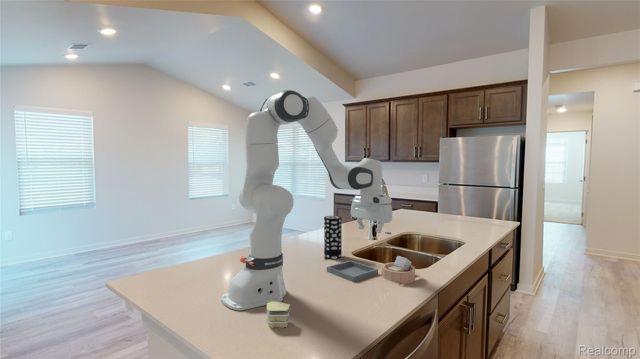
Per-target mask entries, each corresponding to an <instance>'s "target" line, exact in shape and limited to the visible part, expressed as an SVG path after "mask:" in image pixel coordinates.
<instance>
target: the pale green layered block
mask: <svg viewBox="0 0 640 359" xmlns="http://www.w3.org/2000/svg"><path fill="white" fill-rule="evenodd" d="M290 306H291V304H289V303H285V302H282V301H281V302H273V301H272V302H269V303H267V305H266V322H267V324H268V328H271V329H273V328H274V327H275V328H284V327H286V328H287V327H288V325H289V323H290V319H291V315H290V311H291V308H290Z"/></svg>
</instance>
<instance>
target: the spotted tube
mask: <svg viewBox="0 0 640 359" xmlns="http://www.w3.org/2000/svg"><path fill="white" fill-rule="evenodd" d="M342 218H343V217H342V216H339V215H326V216H324V217H323V226H324V227H323V239H324V241H323V243H324V244H323V252H324V253H323V256H324V257H323V258H324V259H323V260H325V261H329V260H339V259H342V254H343V252H342V250H343V249H342V243H343V240H342V239H343V238H342V236H343V235H342V234H343V233H342V232H343V231H342Z"/></svg>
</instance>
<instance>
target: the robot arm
mask: <svg viewBox="0 0 640 359" xmlns="http://www.w3.org/2000/svg"><path fill="white" fill-rule="evenodd" d="M294 122H296V123H298V124H299V125H300V126H301V127H302V129H303V130H304V132H305V133H306V134H307V136H308V138H309V139H310V141H311V143H312V144H313V147H314V149H315V151H316V154H317V156H318V157H319V158H320V160H321V163H322V164H323V166H324V167H325V169H326V171H327V174H328V178H329V181H330V184H331V185H332V187H334V188H335V189H337V190H349V191H351V190H352V191H358V190H360V191H359V195H355V196H354V197H353V198H352V203H351V208H350V216H351V217H352V218H356V221H357V224H358V229H360V230H364V229H365V224H363V220H366V221H372V222H377V227H375V233H377V234H382V228H383V227H384V225H385V224H389V223H391V222H392V220H393V207H392V205H391V204H392V201H393V200H392V198H391V197H389V196H388V195H386V194H384V193H383V192H382V191H383V189H382V182H383V167H382V162H381V161H380V160H379V159H376V158H372V157H364V158H363V159H362V160H361V161H359V162H358V163H356V164H353V165H345V164H343V163H341V162H340V160H339V158H338V156H337V154H336V152H335V151H334V149H333V143H334V142H335V141H336V139H337V136H338V128H337V124H336V123H335V121H334V119H333V118H332V116H331V115H330V113H329V112H328V110H327V109H326V108H325V106H324V105H323V104H322V103H321V101H320V100H318V98H316V97H315V96H313V95H307V96H303V95H302V94H301V93H299V92H297V91H296V90H290V89H287V90H283V91H281V92H276V93H273V94H272V95H271V96H269V97H268V98H266V99H265V100H264V102H263V103H262V105H261V108H260V109H259V111H255V112H252V113H250V115H248V117H247V118H246V125H245V134H244V135H245V137H244V139H245V154H246V155H245V156H246V171H245V176H244V177H245V179H244V183H243V187H242V189H241V191H240V192H239V195H238V199H239V203H240V205H241V206H242V207H243V209H245V210H247V212H249V213H252V214H255V215H256V216H255V223H254V226H253V228H252V229H251V231H250V233H249V255H248V257H246V256H241V257H240V258H239V262H241V264H242V263H243V264H245V266H244V267H243V268H242V269H241V270H240V271H239V272H238V273H237V274H236V275H235V276H233V278H232V279H231V280H230V281H229V284H228V289H227V290H228V291H227V292H226V293H223V294H222V296H221V302H222V303H223V305H224V306H226V307H227V308H229V309H231V310H234V311H235V310H236V311H245V310H248V309H249V310H250V309H254V308H258V307H263V306H267V303H269V302H272V301H273V302H281V303H282V301H284V297H285V296H286V295H287V288H286V283H285V278H284V272H283V264H284V253H283V252H282V248H283V247H282V246H283V245H282V243H283V242H282V238H283V236H282V235H283V228H284V223H285V220H286V219H287V218H286V217H287V216H288V215H290V213H291V211H292V210H293V208H294V202H295V201H294V197H293V195H292V192H291V191H290V190H288V189H287V188H285V187H283V186H281V185H277V184H273V182H274V177H275V174H276V171H277V170H278V168H279V167H280V166H279V165H280V159H279V155H280V154H279V141H278V138H279V137H278V132H279V128H280V126H281V125H289V124H291V123H294Z"/></svg>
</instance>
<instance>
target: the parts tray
mask: <svg viewBox="0 0 640 359" xmlns="http://www.w3.org/2000/svg"><path fill="white" fill-rule="evenodd" d="M326 273H329V274H332V275H333V276H337V277H339V278H341V279H344V280H347V281H349V282H352V283H355V282H358V281H361V280H364V279H367V278H370V277H373V276H376V275H378V274H379V269H378V268H376V267H373V266H370V265H367V264H365V263H364V264H363V263H362V262H361V263H360V262H358V261H354V260H347V261H343V262H339V263H336V264H333V265H329V266H326Z"/></svg>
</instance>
